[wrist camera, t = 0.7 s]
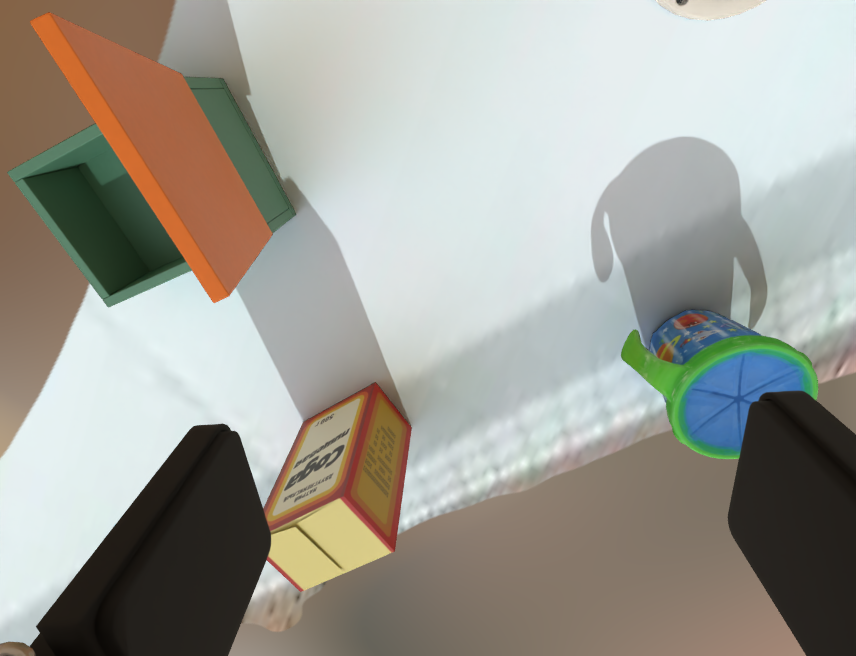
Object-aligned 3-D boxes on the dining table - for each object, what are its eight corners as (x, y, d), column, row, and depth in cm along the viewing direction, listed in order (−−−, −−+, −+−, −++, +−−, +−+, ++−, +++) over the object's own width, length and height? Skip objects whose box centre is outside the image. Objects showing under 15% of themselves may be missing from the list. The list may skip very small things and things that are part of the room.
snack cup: (797, 327, 46) (882, 388, 37) (724, 415, 50) (783, 488, 41) (647, 261, 44) (698, 308, 35) (585, 358, 48) (615, 422, 39)
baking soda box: (375, 382, 51) (342, 499, 36) (411, 427, 53) (394, 555, 38) (303, 422, 53) (245, 546, 39) (340, 463, 55) (299, 595, 41)
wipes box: (153, 279, 47) (107, 307, 41) (70, 160, 43) (6, 172, 37) (296, 214, 44) (270, 235, 38) (222, 77, 39) (179, 76, 33)
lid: (213, 303, 22) (229, 295, 22) (28, 21, 18) (48, 11, 18) (263, 239, 37) (273, 234, 37) (170, 78, 33) (181, 73, 33)
